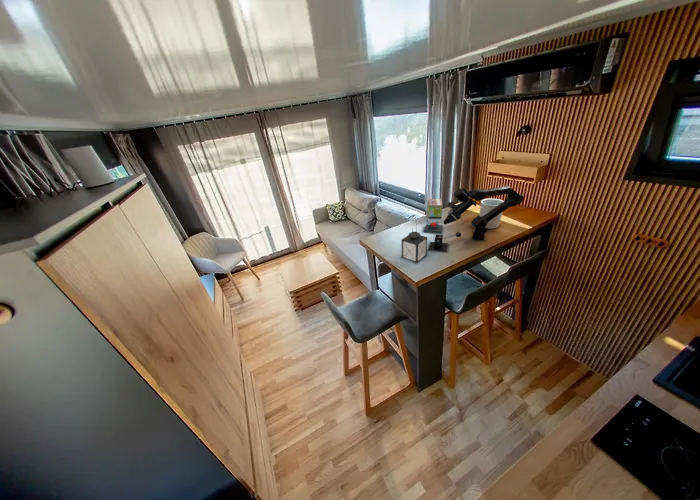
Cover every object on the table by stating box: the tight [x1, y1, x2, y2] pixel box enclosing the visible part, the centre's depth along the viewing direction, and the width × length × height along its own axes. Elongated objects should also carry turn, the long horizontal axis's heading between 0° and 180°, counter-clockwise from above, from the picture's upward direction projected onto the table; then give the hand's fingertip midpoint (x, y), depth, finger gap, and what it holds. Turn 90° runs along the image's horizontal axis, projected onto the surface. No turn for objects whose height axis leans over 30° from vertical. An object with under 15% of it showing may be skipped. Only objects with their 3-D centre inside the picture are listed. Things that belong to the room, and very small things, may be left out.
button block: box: [423, 223, 444, 234], centre depth 185 cm, size 12×10×4 cm
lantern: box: [401, 214, 428, 264], centre depth 152 cm, size 11×11×28 cm
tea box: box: [426, 198, 443, 224], centre depth 199 cm, size 15×10×15 cm
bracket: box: [428, 234, 449, 253], centre depth 163 cm, size 11×10×8 cm
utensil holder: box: [478, 197, 505, 229], centre depth 179 cm, size 15×15×18 cm
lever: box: [437, 231, 462, 240], centre depth 158 cm, size 15×3×3 cm, turn 66°
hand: (443, 223), depth 162 cm, fingers open, 9 cm apart
